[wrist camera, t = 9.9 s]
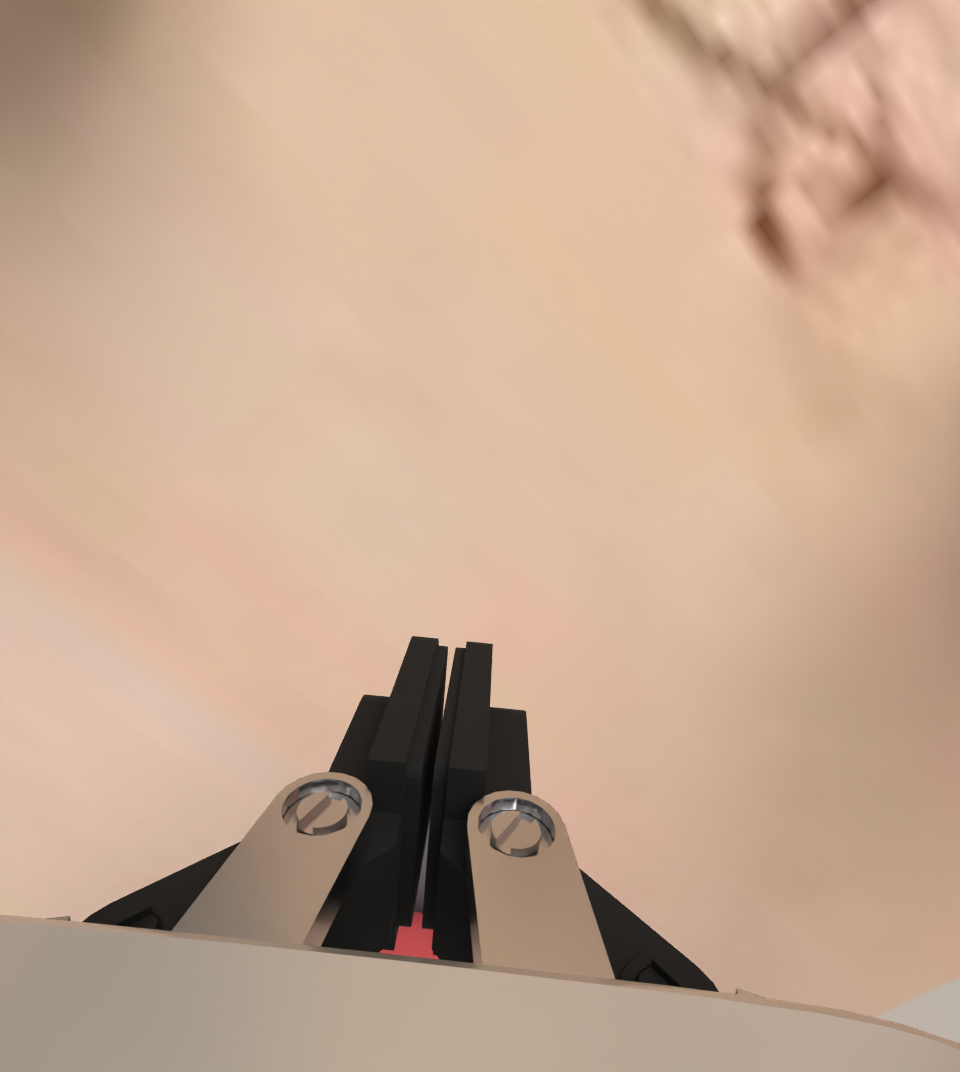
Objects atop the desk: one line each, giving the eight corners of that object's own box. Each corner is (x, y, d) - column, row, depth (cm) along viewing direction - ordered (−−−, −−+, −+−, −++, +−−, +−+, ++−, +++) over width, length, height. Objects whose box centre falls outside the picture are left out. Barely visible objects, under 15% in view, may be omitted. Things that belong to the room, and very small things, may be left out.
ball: (456, 1066, 28) (466, 946, 33) (441, 1008, 26) (454, 888, 31) (351, 1062, 29) (376, 945, 34) (326, 1005, 27) (357, 888, 32)
